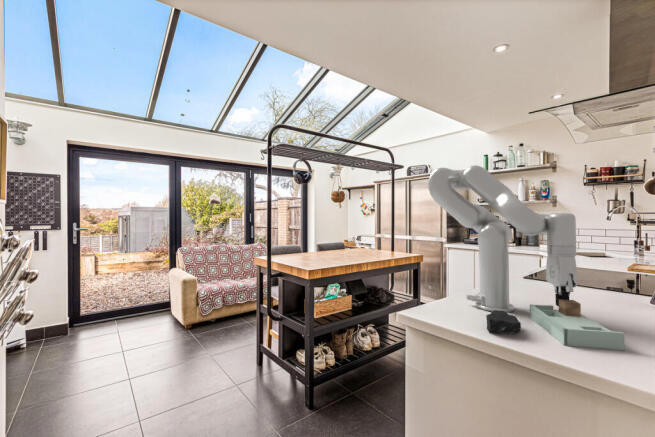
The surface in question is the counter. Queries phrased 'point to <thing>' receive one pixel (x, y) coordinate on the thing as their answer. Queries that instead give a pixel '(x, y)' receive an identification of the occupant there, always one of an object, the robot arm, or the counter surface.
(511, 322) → the rock
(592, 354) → the counter surface
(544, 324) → the tray
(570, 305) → the walnut block
